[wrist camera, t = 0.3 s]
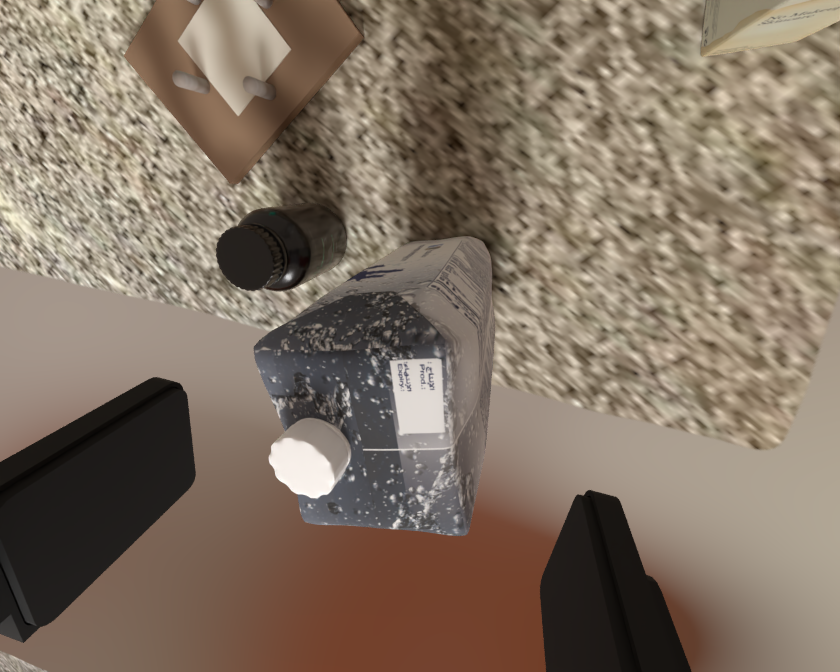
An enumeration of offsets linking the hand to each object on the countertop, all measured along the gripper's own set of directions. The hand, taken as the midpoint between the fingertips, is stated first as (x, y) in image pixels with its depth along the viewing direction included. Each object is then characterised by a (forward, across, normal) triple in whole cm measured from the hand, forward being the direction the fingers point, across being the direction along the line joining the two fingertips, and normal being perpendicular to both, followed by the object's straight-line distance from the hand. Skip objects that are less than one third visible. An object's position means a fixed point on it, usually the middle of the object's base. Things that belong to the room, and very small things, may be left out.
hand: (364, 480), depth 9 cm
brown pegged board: (+31, +24, -14) cm, 41 cm away
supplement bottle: (+31, +16, +1) cm, 35 cm away
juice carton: (+31, +2, +4) cm, 31 cm away
